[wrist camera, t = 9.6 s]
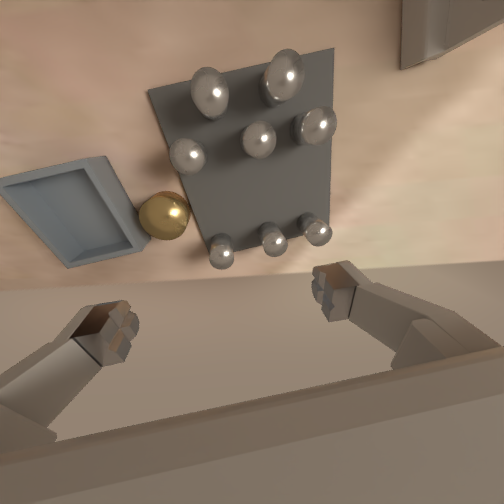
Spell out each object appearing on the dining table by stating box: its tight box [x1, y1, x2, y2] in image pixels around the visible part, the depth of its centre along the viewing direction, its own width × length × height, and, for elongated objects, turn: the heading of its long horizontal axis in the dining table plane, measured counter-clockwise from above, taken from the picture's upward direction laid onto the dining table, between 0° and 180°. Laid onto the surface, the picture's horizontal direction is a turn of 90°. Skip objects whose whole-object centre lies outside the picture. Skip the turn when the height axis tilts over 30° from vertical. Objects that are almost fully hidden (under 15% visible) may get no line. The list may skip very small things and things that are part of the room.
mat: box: [148, 48, 334, 254], centre depth 20 cm, size 17×16×1 cm
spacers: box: [169, 49, 337, 269], centre depth 18 cm, size 16×14×4 cm
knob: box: [139, 191, 191, 240], centre depth 20 cm, size 4×4×3 cm
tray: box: [0, 156, 151, 269], centre depth 19 cm, size 9×8×3 cm
